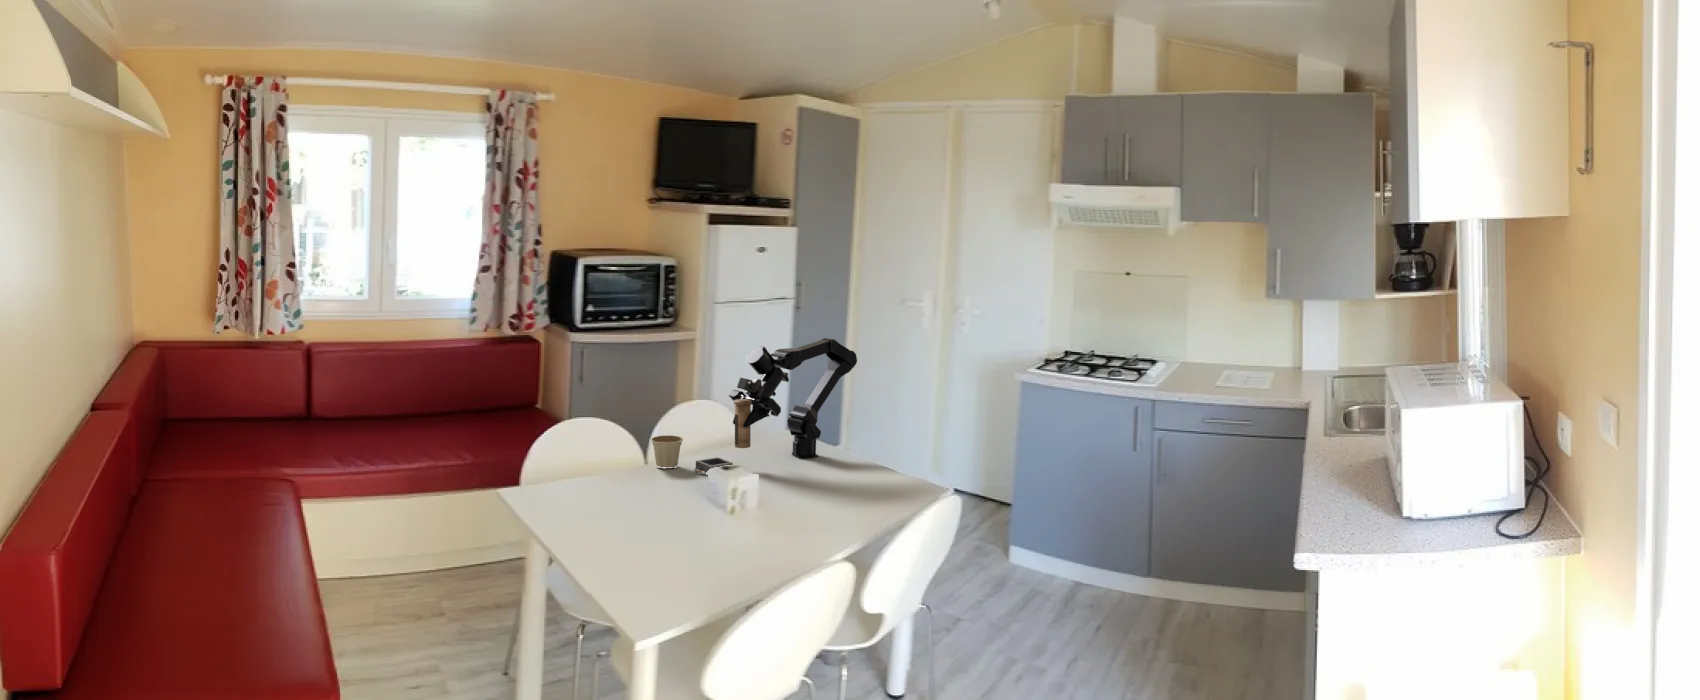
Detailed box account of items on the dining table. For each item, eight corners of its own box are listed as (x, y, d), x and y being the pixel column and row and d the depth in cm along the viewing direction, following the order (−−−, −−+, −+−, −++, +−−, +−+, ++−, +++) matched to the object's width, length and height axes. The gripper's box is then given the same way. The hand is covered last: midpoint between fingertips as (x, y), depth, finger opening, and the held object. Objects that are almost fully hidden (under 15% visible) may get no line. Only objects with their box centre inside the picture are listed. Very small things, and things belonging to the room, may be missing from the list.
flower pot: (679, 471, 300) (679, 442, 299) (647, 470, 300) (647, 441, 299) (685, 463, 310) (685, 435, 308) (654, 462, 310) (654, 434, 309)
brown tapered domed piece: (744, 443, 308) (744, 398, 306) (755, 446, 305) (755, 401, 303) (730, 446, 305) (730, 400, 303) (741, 449, 301) (741, 403, 299)
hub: (720, 464, 310) (720, 455, 310) (741, 472, 301) (741, 463, 301) (686, 469, 303) (686, 460, 302) (707, 478, 294) (707, 468, 294)
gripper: (733, 363, 311) (704, 404, 305) (773, 371, 297) (743, 414, 291) (753, 385, 317) (725, 426, 311) (793, 394, 304) (765, 437, 298)
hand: (739, 425), depth 303 cm, fingers closed on brown tapered domed piece, 5 cm apart
